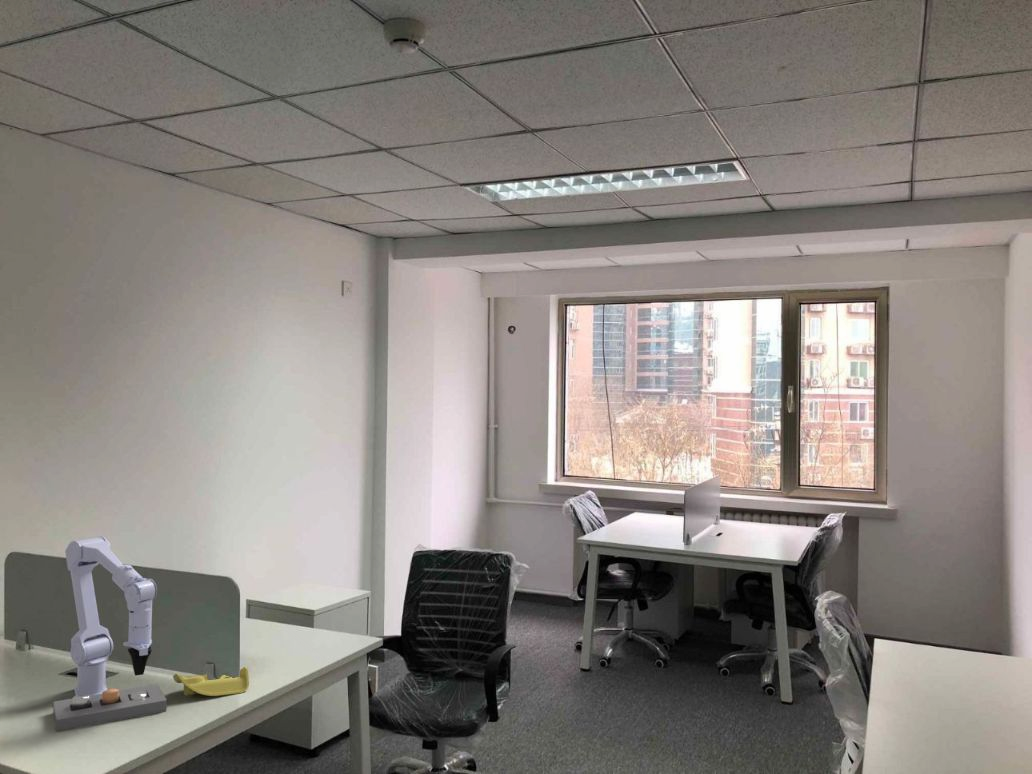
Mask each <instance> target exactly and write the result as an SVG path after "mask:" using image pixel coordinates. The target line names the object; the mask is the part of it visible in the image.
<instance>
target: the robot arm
mask: <svg viewBox="0 0 1032 774" xmlns="http://www.w3.org/2000/svg"><path fill="white" fill-rule="evenodd" d="M65 559H66V560H65V561H66V564H67V565H66V566H67V571H70V577H71V585H72V589H73V590H72V591H73V596H74V603H75V610H76V616H77V623H78V629H79V630H78V631H77V632H76V633H75V634H74V635H73V636H72V637H71V639H70V641H71V643H70V644H71V648H70V658H71V660H72V662H73V663H74V664H75V665H77V673H76V674H77V675H76V676H77V678H76V679H77V680H76V682H77V683H76V686H75V687H73V691H74V696H76V695H79V694H89V695H96V694H102V692H103V691H105V690H108V687H107V684H106V678H107V677H106V676H107V675H106V671H107V670H106V669H107V667H106V666H107V660H108V659H109V656H111V654H112V653H113V651H114V642H113V639H112V637H111V635H110V632H109V629H108V628H106V627H105V626H103V625H100V617H99V612H98V605H97V599H96V593H95V586H94V579H93V574H92V572H93V570H94V568H95V567H96V566H98V565H101V566H102V567H103V568H104V569H106V570H107V571H108V572H109V573H110V574H111V575H112V577H111V580H112V581H113V583H115V584H116V585H117V586H118V587H119V588H120V589H121V590H122V591H123V592H124V598H125V601H126V607H127V610H128V640H127V641H124V642H123V647H129V648H127V651H128V654H129V656H130V659H131V662H132V667H133V668H132V669H133V673H134V676H143V675H144V674H145V670H146V666H147V662H148V659H149V657H150V655H151V653H152V648H151V645H152V644H153V639H152V627H153V625H152V621H153V619H152V618H153V600H154V599H155V598H156V597H157V594H158V587H157V584H156V581H154V580H153V579H152V578H145V577H144V578H143V576H142V575H141V574H139V573H138V572H137V570H135V568H133V566H132V565H131V564H123V563H122V562H121V561H120V559H119V558H118V556H116V554H115V553H114V552H112V550H111V543H110V541H108V539H107V538H106V537H105V536H98V537H94V538H88V539H82V540H81V539H80V540H72V541H70V542H69V544H68V545H67V547H66V548H65ZM88 638H89V639H88Z"/></svg>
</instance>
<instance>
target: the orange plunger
mask: <svg viewBox="0 0 1032 774" xmlns="http://www.w3.org/2000/svg"><path fill="white" fill-rule="evenodd" d="M119 691H120V689H117V688H110V689H107V690H105V691H103V692H102V702H103V703H114V702H116V701H118V700H119Z"/></svg>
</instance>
